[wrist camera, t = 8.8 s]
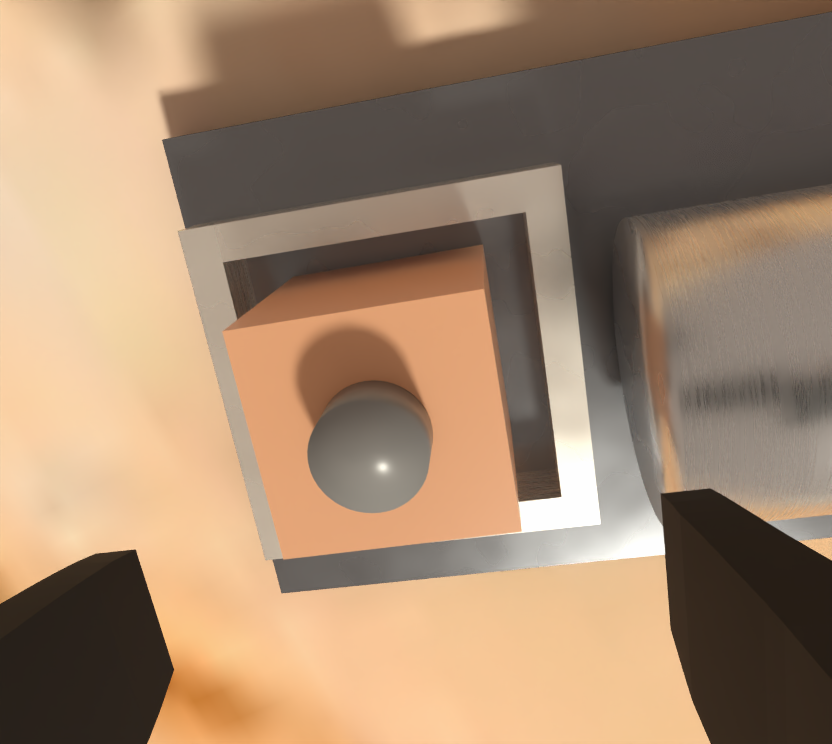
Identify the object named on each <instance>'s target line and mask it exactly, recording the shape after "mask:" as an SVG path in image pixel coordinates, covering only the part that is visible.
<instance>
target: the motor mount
mask: <svg viewBox="0 0 832 744" xmlns="http://www.w3.org/2000/svg"><path fill="white" fill-rule="evenodd" d="M162 141H163V145H164V149H165V152H166V156H167V160H168V164H169V168H170V171H171V175H172V179H173V183H174V187H175V190H176V194H177V198H178V202H179V206H180V209H181V213H182V217H183V221H184V225H185V228H186V229H183V230H180V231H178V234H179V238H180V241H181V245H182V249H183V253H184V256H185V260H186V264H187V268H188V271H189V275H190V279H191V283H192V286H193V290H194V294H195V297H196V301H197V305H198V309H199V312H200V316H201V320H202V324H203V327H204V331H205V335H206V339H207V342H208V346H209V350H210V354H211V357H212V361H213V365H214V369H215V372H216V376H217V380H218V384H219V387H220V391H221V395H222V399H223V402H224V406H225V410H226V414H227V417H228V421H229V425H230V429H231V432H232V436H233V440H234V444H235V447H236V451H237V455H238V459H239V462H240V466H241V470H242V474H243V477H244V481H245V485H246V489H247V492H248V496H249V500H250V504H251V507H252V511H253V515H254V519H255V522H256V526H257V530H258V534H259V537H260V541H261V545H262V549H263V552H264V556H265V560H273V562H274V566H275V570H276V574H277V578H278V581H279V585H280V589H281V593H290V592H300V591H310V590H319V589H329V588H339V587H349V586H359V585H368V584H378V583H388V582H398V581H408V580H418V579H427V578H437V577H447V576H457V575H467V574H476V573H486V572H496V571H506V570H516V569H526V568H535V567H545V566H555V565H565V564H575V563H585V562H594V561H604V560H614V559H624V558H634V557H643V556H653V555H663V554H665V546H664V533H663V520H662V506H661V493H670V492H679V491H689V490H698V489H707V488H711V489H713V490H714V491H716V492H718V493H720V494H722V495H723V496H725V497H727V498H729V499H730V500H732V501H733V502H735V503H737V504H738V505H740V506H742V507H743V508H745V509H746V510H748V511H750V512H751V513H753V514H754V515H756V516H758V517H759V518H761V519H763V520H764V521H766V522H767V523H769V524H771V525H772V526H774V527H776V528H777V529H779V530H780V531H782V532H784V533H785V534H787V535H789V536H790V537H792V538H794V539H795V540H797V541H801V540H810V539H820V538H830V537H832V12H828V13H823V14H817V15H812V16H807V17H802V18H796V19H791V20H786V21H781V22H775V23H770V24H765V25H760V26H755V27H749V28H744V29H739V30H734V31H728V32H723V33H718V34H713V35H707V36H702V37H697V38H692V39H687V40H681V41H676V42H671V43H666V44H660V45H655V46H650V47H645V48H639V49H634V50H629V51H624V52H618V53H613V54H608V55H603V56H598V57H592V58H587V59H582V60H577V61H571V62H566V63H561V64H556V65H550V66H545V67H540V68H535V69H530V70H524V71H519V72H514V73H509V74H503V75H498V76H493V77H488V78H482V79H477V80H472V81H467V82H462V83H456V84H451V85H446V86H441V87H435V88H430V89H425V90H420V91H414V92H409V93H404V94H399V95H394V96H388V97H383V98H378V99H373V100H367V101H362V102H357V103H352V104H346V105H341V106H336V107H331V108H326V109H320V110H315V111H310V112H305V113H299V114H294V115H289V116H284V117H278V118H273V119H268V120H263V121H258V122H252V123H247V124H242V125H237V126H231V127H226V128H221V129H216V130H210V131H205V132H200V133H195V134H190V135H184V136H179V137H174V138H169V139H163V140H162ZM477 245H483V248H484V255H485V261H486V268H487V274H488V281H489V287H490V294H491V300H492V307H493V313H494V320H495V326H496V333H497V339H498V346H499V352H500V358H501V365H502V371H503V378H504V384H505V391H506V397H507V404H508V410H509V417H510V423H511V431H512V441H513V450H514V460H515V469H516V479H517V488H518V498H519V507H520V517H521V526H522V532H515V533H507V534H498V535H490V536H481V537H472V538H464V539H455V540H447V541H438V542H430V543H421V544H412V545H404V546H395V547H387V548H378V549H370V550H361V551H352V552H344V553H335V554H327V555H318V556H310V557H301V558H292V559H284V560H283V556H282V552H281V549H280V545H279V541H278V537H277V534H276V530H275V526H274V522H273V519H272V515H271V511H270V508H269V504H268V500H267V496H266V493H265V489H264V485H263V482H262V478H261V474H260V470H259V467H258V463H257V459H256V456H255V452H254V448H253V444H252V441H251V437H250V433H249V430H248V426H247V422H246V418H245V415H244V411H243V407H242V404H241V400H240V396H239V392H238V389H237V385H236V381H235V377H234V374H233V370H232V366H231V363H230V359H229V355H228V351H227V348H226V344H225V340H224V337H223V333H222V331H223V330H225V329H226V328H227V327H229V326H230V325H231V324H232V323H234V322H235V321H236V320H238V319H239V318H240V317H242V316H243V315H244V314H245V313H247V312H248V311H249V310H251V309H252V308H253V307H255V306H256V305H257V304H258V303H260V302H261V301H262V300H264V299H265V298H266V297H268V296H269V295H270V294H271V293H273V292H274V291H275V290H277V289H278V288H279V287H281V286H282V285H283V284H284V283H286V282H287V281H288V280H290V279H291V278H292V277H295V276H301V275H307V274H313V273H319V272H324V271H330V270H336V269H342V268H348V267H354V266H360V265H365V264H371V263H377V262H383V261H389V260H395V259H401V258H406V257H412V256H418V255H424V254H430V253H436V252H442V251H447V250H453V249H459V248H465V247H471V246H477Z"/></svg>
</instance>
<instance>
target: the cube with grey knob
mask: <svg viewBox="0 0 832 744" xmlns="http://www.w3.org/2000/svg"><path fill="white" fill-rule="evenodd" d="M222 333H223V337H224V340H225V344H226V348H227V351H228V355H229V359H230V363H231V366H232V370H233V374H234V377H235V381H236V385H237V389H238V392H239V396H240V400H241V404H242V407H243V411H244V415H245V418H246V422H247V426H248V430H249V433H250V437H251V441H252V444H253V448H254V452H255V456H256V459H257V463H258V467H259V470H260V474H261V478H262V482H263V485H264V489H265V493H266V496H267V500H268V504H269V508H270V511H271V515H272V519H273V522H274V526H275V530H276V534H277V537H278V541H279V545H280V549H281V552H282V556H283V560H284V559H292V558H301V557H310V556H318V555H327V554H335V553H344V552H352V551H361V550H370V549H378V548H387V547H395V546H404V545H412V544H421V543H430V542H438V541H447V540H455V539H464V538H472V537H481V536H490V535H498V534H507V533H515V532H522V526H521V517H520V507H519V498H518V488H517V479H516V469H515V460H514V450H513V441H512V431H511V423H510V417H509V410H508V404H507V397H506V391H505V384H504V378H503V371H502V365H501V358H500V352H499V346H498V339H497V333H496V326H495V320H494V313H493V307H492V300H491V294H490V287H489V281H488V274H487V268H486V261H485V255H484V248H483V245H477V246H471V247H465V248H459V249H453V250H447V251H442V252H436V253H430V254H424V255H418V256H412V257H406V258H401V259H395V260H389V261H383V262H377V263H371V264H365V265H360V266H354V267H348V268H342V269H336V270H330V271H324V272H319V273H313V274H307V275H301V276H295V277H292V278H291V279H290V280H288V281H287V282H286V283H284V284H283V285H282V286H281V287H279V288H278V289H277V290H275V291H274V292H273V293H271V294H270V295H269V296H268V297H266V298H265V299H264V300H262V301H261V302H260V303H258V304H257V305H256V306H255V307H253V308H252V309H251V310H249V311H248V312H247V313H245V314H244V315H243V316H242V317H240V318H239V319H238V320H236V321H235V322H234V323H232V324H231V325H230V326H229V327H227V328H226V329H225V330H223V331H222Z"/></svg>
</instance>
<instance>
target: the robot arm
mask: <svg viewBox="0 0 832 744" xmlns="http://www.w3.org/2000/svg"><path fill="white" fill-rule="evenodd" d="M661 506H662V520H663V533H664V546H665V559H666V572H667V585H668V599H669V612H670V625H671V631H672V634H673V638H674V641H675V645H676V648H677V652H678V655H679V658H680V662H681V665H682V669H683V672H684V675H685V678H686V682H687V685H688V688H689V691H690V694H691V698H692V701H693V703H694V706H695V708H696V710H697V713H698V715H699V717H700V720H701V722H702V724H703V727H704V729H705V731H706V734H707V736H708V738H709V741H710V743H711V744H832V561H831V560H830V559H828V558H826V557H824V556H823V555H821V554H819V553H817V552H816V551H814V550H812V549H811V548H809V547H807V546H806V545H804V544H802V543H800V542H799V541H797V540H795V539H794V538H792V537H790V536H789V535H787V534H785V533H784V532H782V531H780V530H779V529H777V528H776V527H774V526H772V525H771V524H769V523H767V522H766V521H764V520H763V519H761V518H759V517H758V516H756V515H754V514H753V513H751V512H750V511H748V510H746V509H745V508H743V507H742V506H740V505H738V504H737V503H735V502H733V501H732V500H730V499H729V498H727V497H725V496H723V495H722V494H720V493H718V492H716V491H714V490H713V489H711V488H707V489H698V490H689V491H679V492H670V493H661ZM173 671H174V668H173V665H172V662H171V659H170V656H169V653H168V649H167V646H166V643H165V640H164V637H163V634H162V631H161V628H160V624H159V621H158V618H157V615H156V612H155V609H154V606H153V603H152V599H151V596H150V593H149V590H148V587H147V584H146V581H145V578H144V574H143V571H142V568H141V565H140V562H139V559H138V556H137V552H136V550H127V551H117V552H108V553H99V554H94V555H92V556H89V557H87V558H85V559H82V560H80V561H78V562H76V563H74V564H72V565H70V566H68V567H66V568H64V569H62V570H60V571H58V572H56V573H54V574H52V575H51V576H49V577H47V578H45V579H43V580H41V581H40V582H38V583H36V584H34V585H33V586H31V587H29V588H27V589H25V590H24V591H22V592H20V593H19V594H17V595H15V596H13V597H12V598H10V599H8V600H6V601H5V602H3V603H1V604H0V744H147V742H148V740H149V738H150V735H151V733H152V730H153V728H154V725H155V722H156V720H157V717H158V715H159V712H160V709H161V707H162V704H163V701H164V698H165V695H166V692H167V689H168V686H169V683H170V680H171V677H172V674H173Z"/></svg>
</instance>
